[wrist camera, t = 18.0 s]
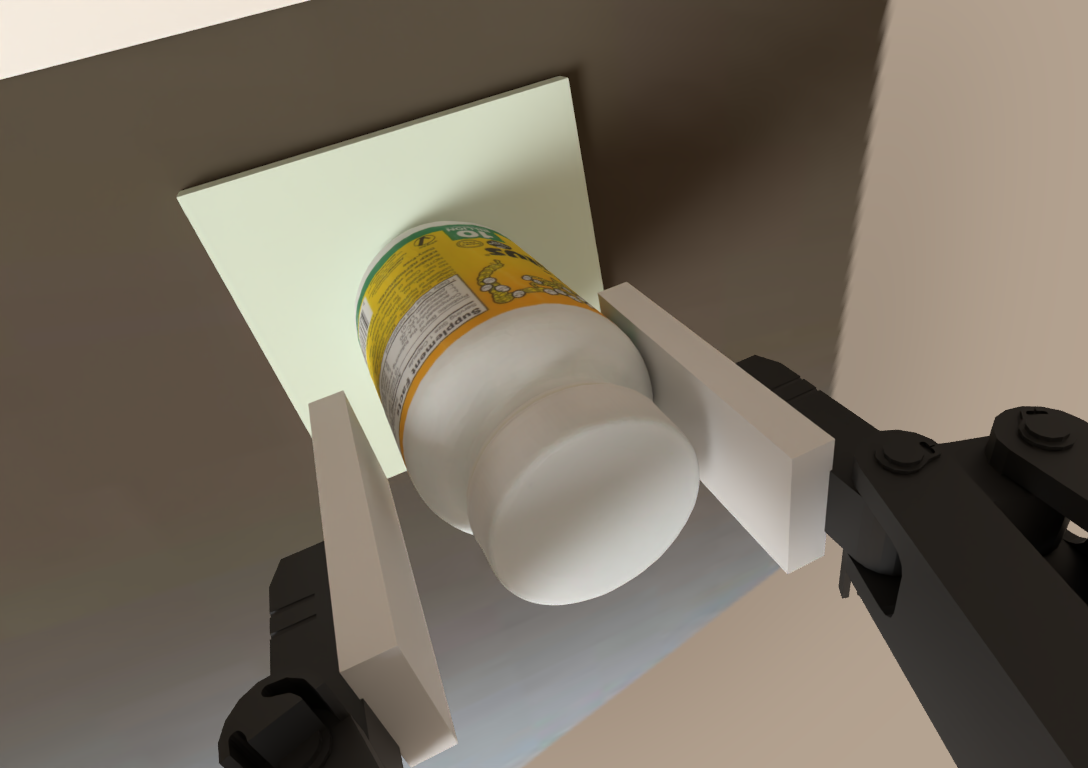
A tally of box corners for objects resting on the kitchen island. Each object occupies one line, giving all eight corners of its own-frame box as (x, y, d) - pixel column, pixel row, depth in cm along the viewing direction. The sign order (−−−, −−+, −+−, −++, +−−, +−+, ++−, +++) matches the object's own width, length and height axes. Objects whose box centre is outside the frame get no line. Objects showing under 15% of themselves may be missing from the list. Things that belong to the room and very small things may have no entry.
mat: (342, 484, 20) (344, 496, 20) (179, 191, 15) (176, 197, 14) (611, 374, 22) (618, 382, 22) (559, 75, 17) (568, 78, 16)
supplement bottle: (309, 320, 17) (367, 577, 9) (445, 172, 16) (628, 307, 8) (450, 417, 20) (581, 666, 12) (566, 295, 19) (777, 475, 12)
